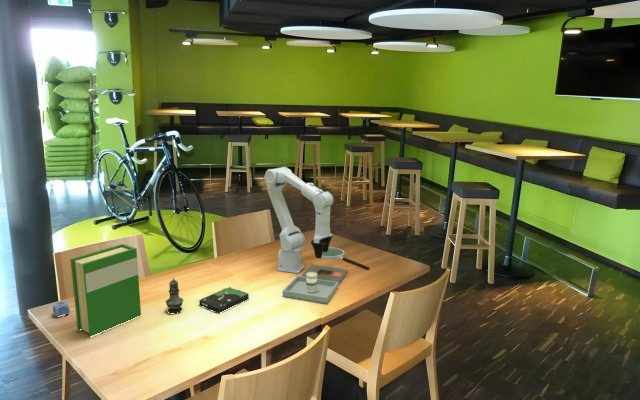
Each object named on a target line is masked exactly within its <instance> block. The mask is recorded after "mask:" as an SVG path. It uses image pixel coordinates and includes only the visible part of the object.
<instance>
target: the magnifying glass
mask: <svg viewBox="0 0 640 400" xmlns="http://www.w3.org/2000/svg"><path fill="white" fill-rule="evenodd" d="M321 259H324V260H338V259H339V260H342V261H344V262H347V263H349V264H351V265H354V266H355V267H356V266H357V267H359V268H360V269H361V268H362V269H363V270H365V271H368V270H370V267H369V266H368V265H364V264H363V263H359V262H357V261H355V260H352V259H349V258H347V257H345V250H343V249H341V248H338V247H333V246H329V248H328V251H327V252H322V257H321Z"/></svg>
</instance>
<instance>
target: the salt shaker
mask: <svg viewBox="0 0 640 400" xmlns="http://www.w3.org/2000/svg"><path fill="white" fill-rule="evenodd" d="M179 292H180V289H179V282H178V280H176V279H175V278H174V277H173V278H172V280H170V281H169V289H168V293H169V298H168V299H166V300H165V304H166V306H167V308H168V309H167V310H168V312H169V313H177V312H180V311H181V310H182V308H183V307H182V305H183V302H184V299H183V297H180V295H179ZM168 312H167V313H168ZM169 313H168V314H169ZM180 313H181V312H180Z"/></svg>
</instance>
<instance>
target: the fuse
mask: <svg viewBox="0 0 640 400" xmlns="http://www.w3.org/2000/svg"><path fill="white" fill-rule="evenodd" d="M306 292H307V293H316V292H317V273H316V272H307V273H306Z"/></svg>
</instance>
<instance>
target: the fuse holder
mask: <svg viewBox="0 0 640 400" xmlns="http://www.w3.org/2000/svg"><path fill="white" fill-rule="evenodd" d="M348 270H349V269H346V268H340V267H335V266H334V267H333V266H326V265H320V264H315V263H314V264H313V263H312V264H310V266H309V267H307V269H306V270H304V272H303V273H302V274H301V275H300V276H302V277H306V273H307V272H316V273H317V279H322V280H328V281H334V282H338V286H339V285H340V284H341V282H342V281H343V279H344V278H345V277H346V276H347V274H348ZM320 273H322V274H320ZM324 274H327V275H324Z"/></svg>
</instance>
